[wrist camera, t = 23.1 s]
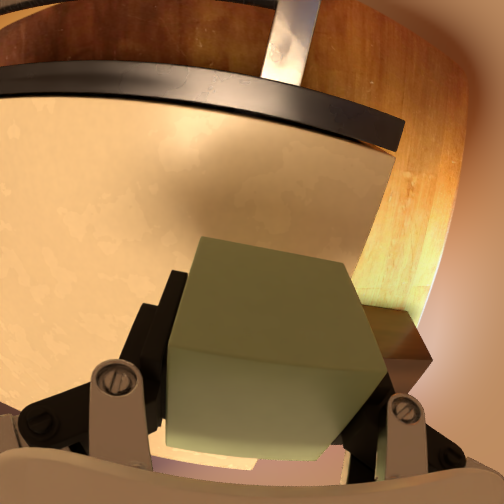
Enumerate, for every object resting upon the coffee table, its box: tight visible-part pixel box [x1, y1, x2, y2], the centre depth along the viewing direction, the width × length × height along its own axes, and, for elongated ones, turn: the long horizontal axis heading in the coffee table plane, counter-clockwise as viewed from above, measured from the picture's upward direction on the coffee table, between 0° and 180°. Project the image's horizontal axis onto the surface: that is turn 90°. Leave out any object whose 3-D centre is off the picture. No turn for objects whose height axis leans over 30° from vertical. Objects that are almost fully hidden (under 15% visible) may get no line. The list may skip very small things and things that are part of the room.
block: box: [165, 236, 387, 461], centre depth 10 cm, size 5×5×5 cm
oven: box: [0, 92, 395, 470], centre depth 30 cm, size 32×40×26 cm
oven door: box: [0, 0, 405, 152], centre depth 21 cm, size 8×40×26 cm, turn 78°
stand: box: [362, 305, 433, 394], centre depth 48 cm, size 12×12×12 cm
